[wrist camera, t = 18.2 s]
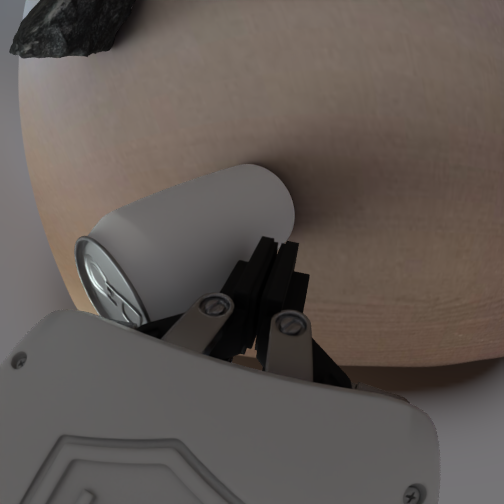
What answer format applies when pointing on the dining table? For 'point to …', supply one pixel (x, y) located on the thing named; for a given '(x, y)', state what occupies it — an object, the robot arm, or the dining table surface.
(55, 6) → the rock
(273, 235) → the can
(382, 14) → the dining table surface
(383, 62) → the dining table surface
